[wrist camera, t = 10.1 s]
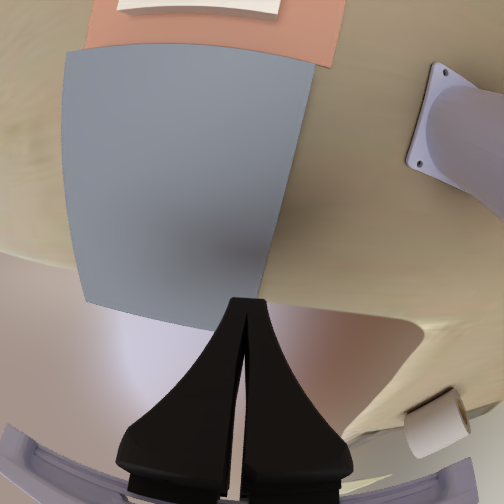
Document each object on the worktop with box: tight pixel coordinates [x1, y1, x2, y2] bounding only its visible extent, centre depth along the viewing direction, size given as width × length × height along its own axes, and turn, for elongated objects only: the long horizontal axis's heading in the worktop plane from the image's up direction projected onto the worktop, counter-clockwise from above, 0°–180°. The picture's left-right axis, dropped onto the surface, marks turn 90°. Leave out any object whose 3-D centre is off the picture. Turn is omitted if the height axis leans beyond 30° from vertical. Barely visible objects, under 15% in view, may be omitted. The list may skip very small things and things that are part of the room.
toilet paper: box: [404, 388, 470, 458], centre depth 34 cm, size 10×10×10 cm
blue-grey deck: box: [61, 44, 316, 331], centre depth 16 cm, size 13×18×4 cm
